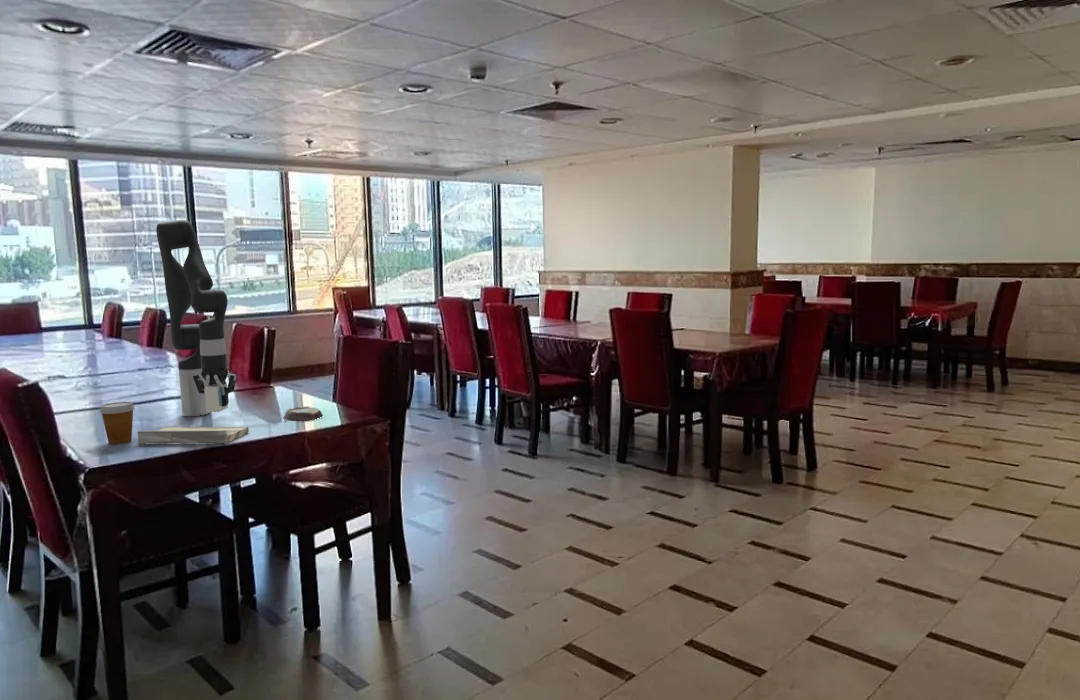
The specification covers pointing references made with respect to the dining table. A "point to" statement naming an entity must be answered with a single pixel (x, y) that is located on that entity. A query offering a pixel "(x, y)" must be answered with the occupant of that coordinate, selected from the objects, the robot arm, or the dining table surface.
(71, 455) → the dining table surface
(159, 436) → the cream rectangular tray
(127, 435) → the disposable coffee cup
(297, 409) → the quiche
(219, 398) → the carton
